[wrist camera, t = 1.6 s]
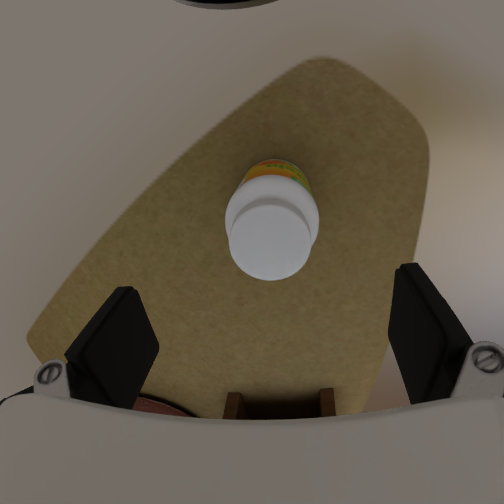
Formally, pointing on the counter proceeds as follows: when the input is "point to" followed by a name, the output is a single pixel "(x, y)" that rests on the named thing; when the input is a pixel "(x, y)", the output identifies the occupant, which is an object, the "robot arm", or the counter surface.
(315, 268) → the counter surface
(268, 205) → the supplement bottle
